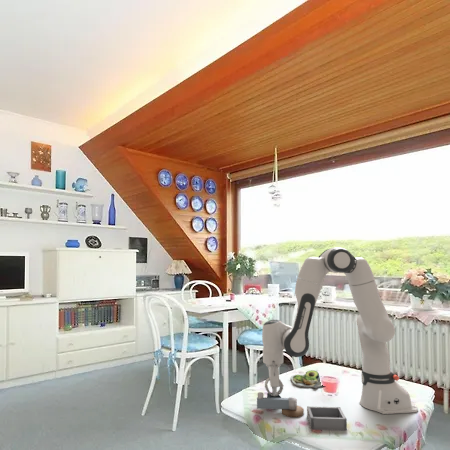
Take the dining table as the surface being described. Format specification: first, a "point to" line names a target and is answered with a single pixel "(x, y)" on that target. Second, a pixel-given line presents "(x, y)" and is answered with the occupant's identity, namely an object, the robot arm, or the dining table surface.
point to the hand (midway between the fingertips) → (274, 390)
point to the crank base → (293, 412)
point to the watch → (271, 395)
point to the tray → (326, 418)
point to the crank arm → (276, 403)
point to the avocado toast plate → (307, 379)
